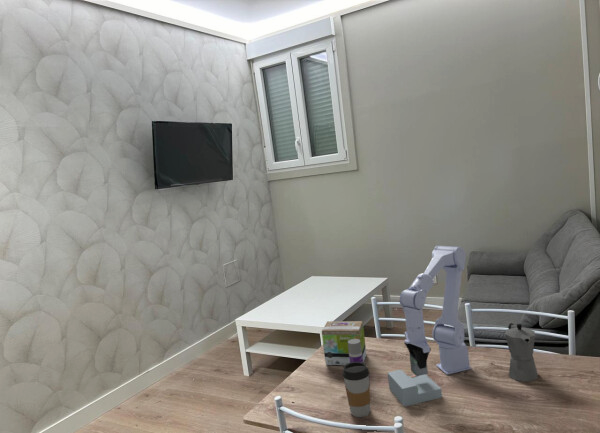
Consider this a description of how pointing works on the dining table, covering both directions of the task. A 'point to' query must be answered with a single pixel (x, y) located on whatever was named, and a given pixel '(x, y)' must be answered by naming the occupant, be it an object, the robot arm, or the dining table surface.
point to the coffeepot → (521, 353)
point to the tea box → (341, 340)
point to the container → (355, 350)
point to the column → (415, 367)
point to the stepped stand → (412, 388)
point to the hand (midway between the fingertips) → (419, 364)
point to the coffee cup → (357, 388)
